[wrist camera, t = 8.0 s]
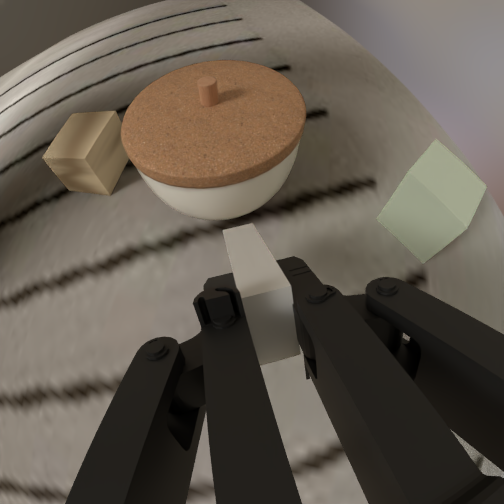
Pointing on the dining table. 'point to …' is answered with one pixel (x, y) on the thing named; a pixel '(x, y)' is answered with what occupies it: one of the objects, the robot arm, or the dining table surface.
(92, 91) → the dining table surface
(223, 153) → the lidded jar
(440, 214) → the sage block
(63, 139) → the beech block
